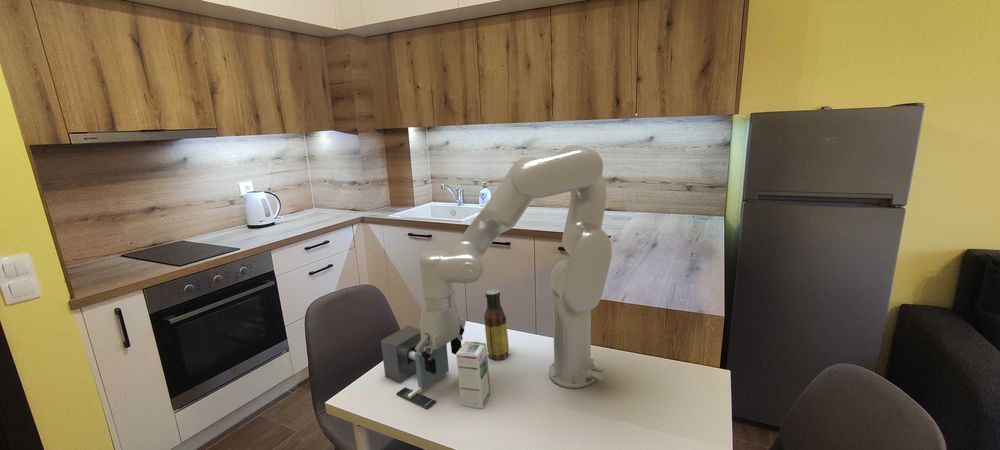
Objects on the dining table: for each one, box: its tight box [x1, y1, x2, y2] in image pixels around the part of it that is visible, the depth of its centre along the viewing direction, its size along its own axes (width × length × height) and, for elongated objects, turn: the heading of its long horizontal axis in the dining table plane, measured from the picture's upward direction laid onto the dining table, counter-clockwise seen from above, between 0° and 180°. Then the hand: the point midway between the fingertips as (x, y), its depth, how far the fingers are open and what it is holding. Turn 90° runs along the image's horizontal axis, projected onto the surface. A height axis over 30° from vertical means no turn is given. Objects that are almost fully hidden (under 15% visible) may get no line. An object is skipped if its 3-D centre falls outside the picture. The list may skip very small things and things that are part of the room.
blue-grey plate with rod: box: [406, 343, 450, 398], centre depth 118 cm, size 15×14×10 cm
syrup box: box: [455, 340, 491, 410], centre depth 108 cm, size 6×6×14 cm
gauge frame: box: [380, 325, 437, 410], centre depth 117 cm, size 20×14×11 cm
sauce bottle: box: [483, 289, 510, 361], centre depth 127 cm, size 7×6×20 cm
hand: (444, 362), depth 113 cm, fingers open, 9 cm apart
